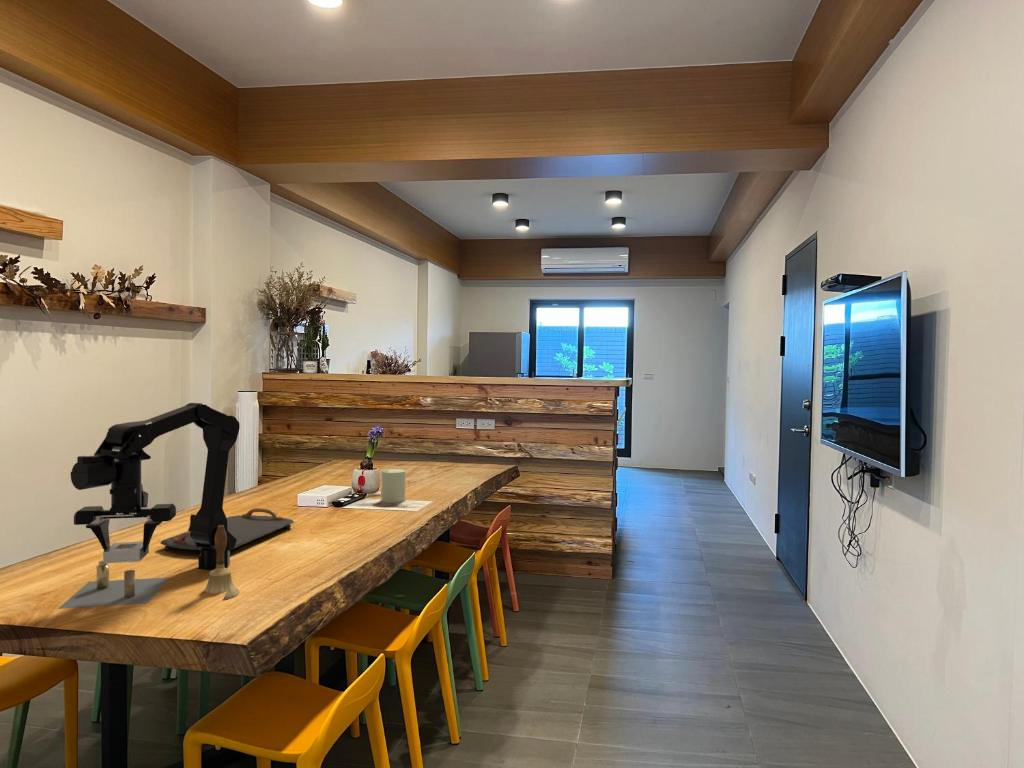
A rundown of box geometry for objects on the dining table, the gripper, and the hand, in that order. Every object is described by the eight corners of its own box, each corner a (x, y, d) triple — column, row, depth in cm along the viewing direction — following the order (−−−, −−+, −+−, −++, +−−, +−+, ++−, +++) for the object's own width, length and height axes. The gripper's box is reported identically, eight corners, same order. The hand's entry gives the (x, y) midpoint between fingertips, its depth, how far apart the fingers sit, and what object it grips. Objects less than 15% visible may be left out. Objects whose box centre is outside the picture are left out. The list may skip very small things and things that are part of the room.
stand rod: (136, 594, 147) (136, 569, 147) (133, 597, 145) (133, 572, 145) (126, 595, 147) (125, 570, 146) (123, 598, 145) (122, 573, 144)
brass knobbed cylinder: (110, 585, 152) (110, 559, 152) (106, 589, 150) (106, 562, 150) (98, 586, 152) (98, 560, 152) (95, 589, 149) (94, 563, 149)
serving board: (224, 561, 178) (224, 538, 178) (149, 554, 183) (149, 532, 183) (300, 527, 216) (301, 508, 215) (237, 521, 221) (237, 503, 220)
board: (169, 583, 159) (169, 577, 159) (147, 609, 142) (147, 602, 142) (89, 588, 155) (89, 581, 155) (57, 615, 138) (57, 608, 138)
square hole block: (148, 552, 150) (148, 541, 150) (139, 561, 144) (139, 550, 143) (114, 553, 149) (114, 542, 149) (103, 563, 142) (103, 551, 142)
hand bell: (244, 588, 156) (245, 521, 156) (231, 601, 148) (231, 530, 148) (208, 588, 156) (209, 520, 156) (193, 601, 148) (193, 530, 147)
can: (379, 498, 259) (380, 467, 259) (403, 497, 262) (403, 467, 261) (382, 503, 250) (382, 471, 250) (407, 502, 253) (407, 471, 253)
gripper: (181, 474, 156) (181, 540, 156) (91, 476, 151) (92, 545, 152) (169, 483, 145) (169, 554, 145) (72, 486, 140) (72, 559, 141)
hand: (126, 552), depth 146 cm, fingers closed on square hole block, 7 cm apart
